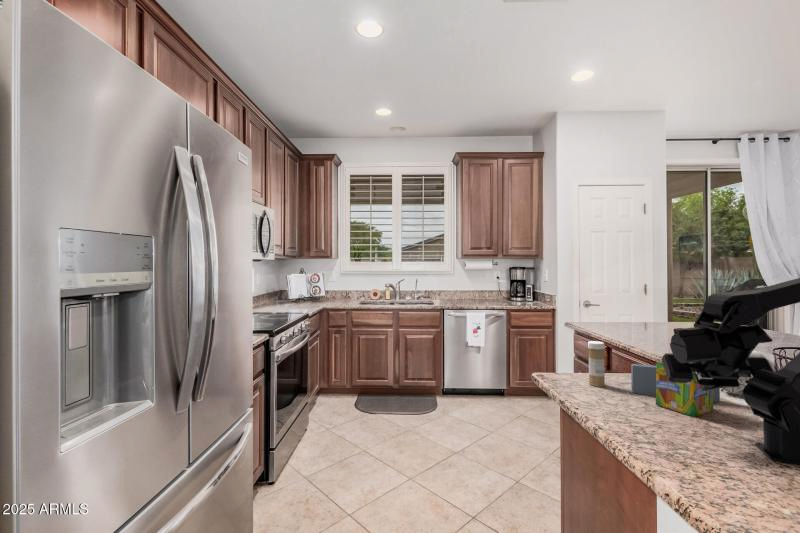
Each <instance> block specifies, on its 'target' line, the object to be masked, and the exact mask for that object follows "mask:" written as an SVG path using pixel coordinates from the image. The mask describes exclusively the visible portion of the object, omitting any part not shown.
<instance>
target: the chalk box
mask: <svg viewBox="0 0 800 533" xmlns="http://www.w3.org/2000/svg"><path fill="white" fill-rule="evenodd" d="M655 364H656V365H655V366H656V396H655V406H659V407H662V408H666V409H668V410H671V411H673V412H677V413H681V414H683V415H686V416H689V417H692V418H695V417H698V416H702V415H705V414H708V413H712V412H714V402H713V401H714V390H702V388H701V385H700V384H698V382H697V380H696V378H695V375H694V373H693V372H692V374H693V379H692V381H691V382H688V383H676V382H671V381H669V380H668V378H667V375H666V372H665V369H664V366H663V363H662V360H660V361H658V362H656V363H655Z"/></svg>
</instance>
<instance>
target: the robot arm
mask: <svg viewBox="0 0 800 533" xmlns="http://www.w3.org/2000/svg"><path fill="white" fill-rule="evenodd" d="M798 303H799V304H800V277H797V278H794V279H791V280H786V281H784V282H783V281H782V282H779V283H776V284H773V285H772V284H771V285H768V286H764V287H760V288H757V289H753V290H741V291H740V290H738V291H737V290H736V291H727V292H726V291H725V292H717V293H713V294H710V295H708V296H707V297H706V300H705V301H704V304H703V309H702V310H701V312H700V313H699V315H698V316H697V318H696V320H695V322H694V323H693V327H687V328H686V327H685V328H683V327H679V328H678V327H677V328H676V327H675V328H673V335H672V336H671V338H670V343H669V347H670V350H671V353H664V354H663V355H662V357H661V360H660V361H662V363H663V366H664V369H665V372H666V375H667V378H668V380H669V381H671V382H676V383H688V382H691V381H692V379H693V374H692V372H693V373H694V375H695V378H696V380H697V382H698V384H700V385H701V388H702V390H714V389H720V390H721V389H722V388H729V387H739V385H740V384H739V382H738V379H739V378H751V377H752V376H753V377H752V378H751V379H750V380H747V381H745V383H748V384H747V385H746V386H745V388H744V389H743V393H744V395H743V399H744V402H745V403H746V404H747V405H748V406H749V407H750V410H751V411H752V414H753V415H754V416H757V417H759V418H761V419H763V420H762V421H763V422H762V423H763V426H762V427H763V443H759V442H755V446H756V448H758V449H759V450H760V452H762V453H763V454H765V455H766V456H767V458H769V459H770V460H772V461H778V462H782V463H783V462H784V463H790V464H796V465H800V352H798V353H797V354H796V355H795V356H794V357H793V358H792V359H791V360H790V361H789V362H788V363H787V364H785V365H784V366H783V367H782V368H781V369H779V370H775V369H774V370H773V368H772V366H771V364H770V363H769V361H768V360H767V359H766V358H764V357H752V356H749V355H750V354H751V353H752V351H755V348H756V347H757V346H758V344H765V343H766V344H767V343H771V342H773V338H772V337H771V336H770V335H769V333H767V332H766V331H765V329H764V328H763V327H762V326H761V325H760V324H752V325H751V323H752V322H755V321H757V320H759V319H761V318H763V317H764V316H765V315H766V314H768V313H769V312H770V311H774V310H776V309H779V308H782V307H786V306H791V305H794V304H798ZM719 322H720V323H719ZM748 324H750V325H748ZM751 374H752V376H751Z"/></svg>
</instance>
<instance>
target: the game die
mask: <svg viewBox="0 0 800 533" xmlns="http://www.w3.org/2000/svg"><path fill="white" fill-rule="evenodd" d="M749 379H751V378H739V379H738V382H739V384H740V385H739V387H729V388H721V389H720V392H724V391H725V392H727V393H729V394H731V396H732V398H734V397H735V395H736V394H742V396H744V393H743V389H744V388H745V386H746V385H747V384H748V383H745V381H747V380H749Z"/></svg>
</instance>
